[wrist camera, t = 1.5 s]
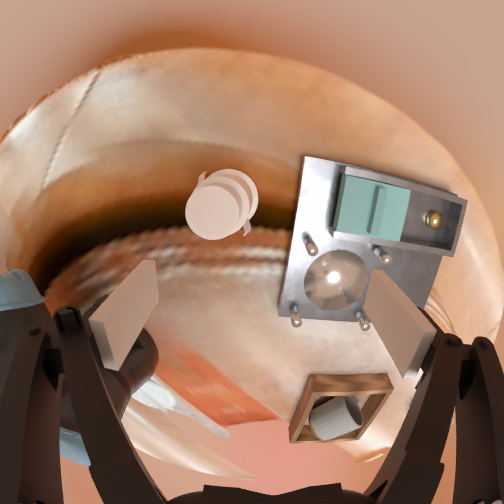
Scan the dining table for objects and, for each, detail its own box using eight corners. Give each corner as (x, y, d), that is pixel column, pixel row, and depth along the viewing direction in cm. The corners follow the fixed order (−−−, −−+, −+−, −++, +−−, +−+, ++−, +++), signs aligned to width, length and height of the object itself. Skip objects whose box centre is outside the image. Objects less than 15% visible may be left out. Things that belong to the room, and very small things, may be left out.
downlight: (273, 205, 32) (275, 223, 23) (228, 241, 34) (212, 272, 24) (229, 153, 30) (212, 149, 21) (185, 192, 32) (153, 205, 23)
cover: (332, 227, 29) (338, 234, 27) (342, 174, 27) (349, 176, 25) (393, 237, 29) (403, 244, 27) (404, 188, 27) (415, 191, 25)
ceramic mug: (303, 405, 44) (308, 438, 37) (340, 385, 42) (350, 418, 35) (331, 423, 47) (337, 452, 40) (365, 405, 45) (375, 434, 38)
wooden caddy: (288, 428, 47) (289, 443, 43) (309, 374, 41) (312, 392, 37) (354, 425, 47) (358, 439, 44) (386, 373, 41) (394, 388, 38)
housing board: (277, 308, 37) (279, 329, 32) (302, 156, 30) (310, 156, 25) (411, 316, 37) (425, 334, 32) (449, 192, 30) (470, 199, 25)
